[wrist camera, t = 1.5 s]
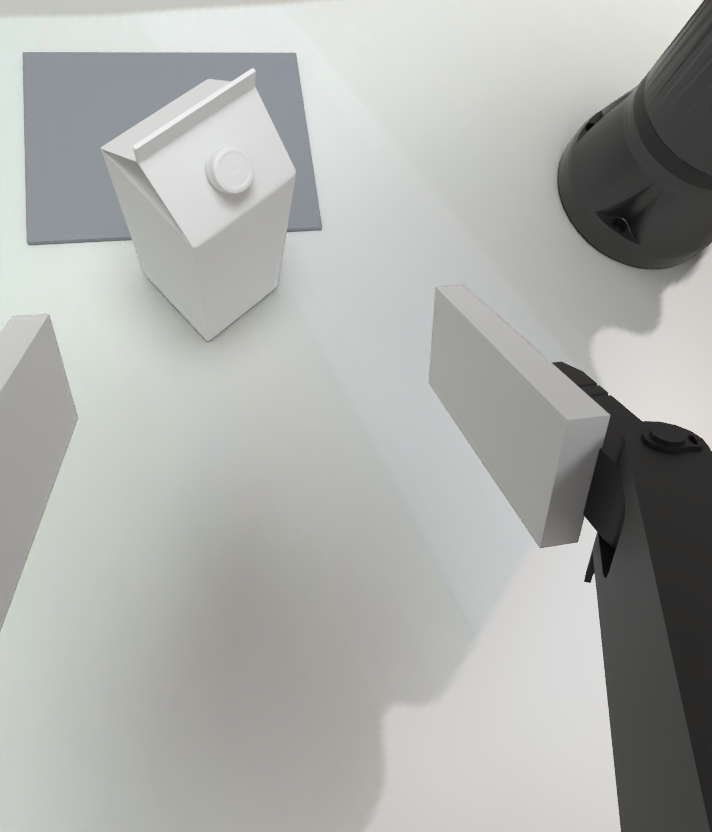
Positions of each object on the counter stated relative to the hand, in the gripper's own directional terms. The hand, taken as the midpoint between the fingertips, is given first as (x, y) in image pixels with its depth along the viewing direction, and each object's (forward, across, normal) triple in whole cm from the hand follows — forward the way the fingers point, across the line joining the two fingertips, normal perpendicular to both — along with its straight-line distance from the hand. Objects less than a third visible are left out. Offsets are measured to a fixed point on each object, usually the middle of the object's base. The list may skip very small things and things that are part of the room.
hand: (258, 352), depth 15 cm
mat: (+41, -4, 0) cm, 41 cm away
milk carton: (+32, -2, -8) cm, 33 cm away
